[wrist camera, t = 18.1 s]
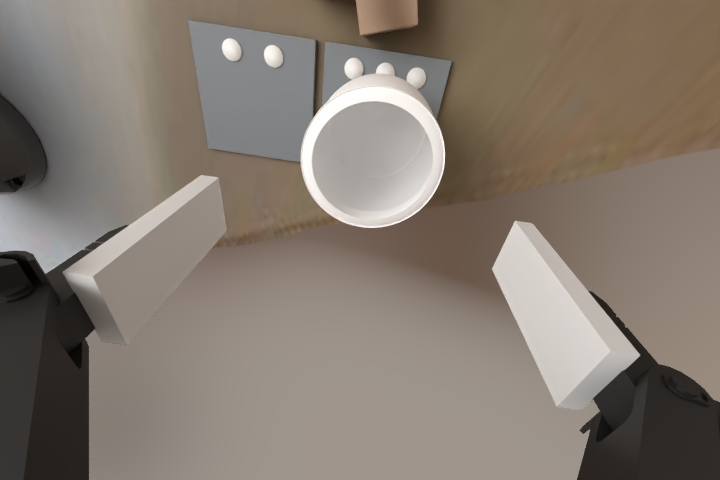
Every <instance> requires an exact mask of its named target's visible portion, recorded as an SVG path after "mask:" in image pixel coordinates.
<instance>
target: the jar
mask: <svg viewBox="0 0 720 480" xmlns="http://www.w3.org/2000/svg"><path fill="white" fill-rule="evenodd" d="M444 164H445V147H444V140H443V136H442V133H441V130H440V127H439V125H438V123H437V121H436V119H435V117H434V116H433V113H432V111H431V108H430V106H429V105H428V103H427V101H426V100H425V98H424V97H423V95H422V94H421V93H420V92H419V91H418V90H417V89H416V88H415V87H414V86H413V85H411V84H410V83H408V82H407V81H405V80H403V79H401V78H399V77H396V76H393V75H389V74H368V75H364V76H360V77H357V78H355V79H353V80H351V81H349V82H347V83H346V84H344V85H343V86H342V87H340V88H339V89H338V90H337V91H336V92H335V93H334V94H333V95H332V96H331V97H330V99H329V100H328V101H327V103H326V104H324V105H323V106H322V107H321V109H320V110H319V111H318V112H317V113H316V115H315V116H314V118H313V119H312V121H311V122H310V124H309V126H308V128H307V130H306V132H305V135H304V138H303V142H302V147H301V170H302V175H303V178H304V181H305V184H306V186H307V188H308V190H309V192H310V194H311V196H312V197H313V198H314V200H315V201H316V202H317V204H318V205H319V206H320V207H321V208H322V209H323V210H325V211H326V212H327V213H328V214H330V215H331V216H333V217H334V218H336V219H338V220H340V221H342V222H344V223H347V224H350V225H354V226H358V227H367V228H377V227H385V226H389V225H393V224H396V223H399V222H401V221H403V220H405V219H407V218H409V217H411V216H412V215H414V214H415V213H416V212H418V211H419V210H420V209H421V208H422V207H423V206H424V205H425V204H426V203H427V202H428V201H429V200H430V198H431V197H432V196H433V194H434V193H435V191H436V189H437V187H438V185H439V183H440V180H441V177H442V174H443V170H444Z"/></svg>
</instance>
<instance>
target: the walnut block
mask: <svg viewBox="0 0 720 480" xmlns="http://www.w3.org/2000/svg"><path fill="white" fill-rule="evenodd" d="M356 6H357V14H358V22H359V30H360V35H361V36H369V35H374V34H380V33H385V32H391V31H396V30H401V29H407V28H412V27H415V26H416V25H418V10H417V0H356Z"/></svg>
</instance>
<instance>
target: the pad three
mask: <svg viewBox="0 0 720 480" xmlns="http://www.w3.org/2000/svg"><path fill="white" fill-rule="evenodd" d="M451 62H452V61H449V60H443V59H436V58H430V57H423V56H417V55H410V54H404V53H397V52H391V51H385V50H378V49H372V48H365V47H359V46H352V45H346V44H339V43H333V42H327V41H325V55H324V74H323V93H322V106H323V105H324V104H326V103H327V101H328V100H329V99H330V97H331V96H332V95H333V94H334V93H335V92H336V91H337V90H338V89H339V88H340V87H342V86H343V85H344V84H346V83H347V82H349V81H351V80H353V79H355V78H357V77H360V76H364V75H368V74H389V75H393V76H396V77H399V78H401V79H403V80H405V81H407V82H408V83H410V84H411V85H413V86H414V87H415V88H416V89H417V90H418V91H419V92H420V93H421V94H422V95H423V97H424V98H425V100H426V101H427V103H428V105H429V106H430V108H431V111H432V113H433V116H434V117H435V119H436V120H437V117H438V113H439V109H440V105H441V101H442V97H443V93H444V90H445V86H446V82H447V78H448V74H449V70H450V66H451Z"/></svg>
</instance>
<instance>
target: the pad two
mask: <svg viewBox="0 0 720 480" xmlns="http://www.w3.org/2000/svg"><path fill="white" fill-rule="evenodd" d="M188 23H189V30H190V36H191V42H192V49H193V55H194V61H195V68H196V74H197V80H198V87H199V93H200V99H201V106H202V112H203V118H204V125H205V131H206V137H207V144H208V148H210V149H217V150H223V151H230V152H236V153H243V154H249V155H256V156H262V157H269V158H276V159H282V160H289V161H295V162H301V147H302V142H303V138H304V135H305V132H306V130H307V128H308V126H309V124H310V122H311V121H312V119H313V118H314V94H315V69H316V43H317V40H314V39H307V38H301V37H294V36H288V35H281V34H275V33H268V32H262V31H256V30H249V29H243V28H236V27H230V26H223V25H217V24H210V23H204V22H198V21H191V20H188Z"/></svg>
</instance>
